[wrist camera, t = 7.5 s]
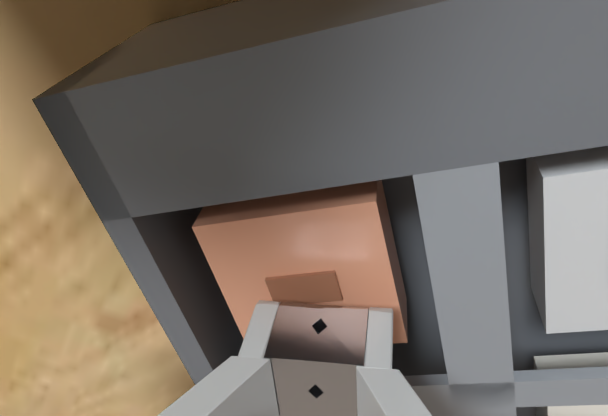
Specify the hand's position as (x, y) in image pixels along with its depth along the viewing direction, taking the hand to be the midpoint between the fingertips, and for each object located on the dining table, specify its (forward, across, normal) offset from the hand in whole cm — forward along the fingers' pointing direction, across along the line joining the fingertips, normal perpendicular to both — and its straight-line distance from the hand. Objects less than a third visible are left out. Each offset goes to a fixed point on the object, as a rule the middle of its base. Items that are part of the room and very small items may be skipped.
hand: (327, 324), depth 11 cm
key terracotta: (+2, +1, -1) cm, 2 cm away
